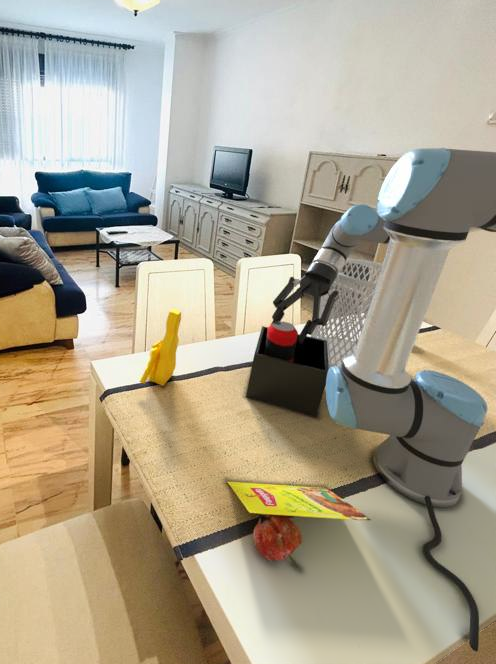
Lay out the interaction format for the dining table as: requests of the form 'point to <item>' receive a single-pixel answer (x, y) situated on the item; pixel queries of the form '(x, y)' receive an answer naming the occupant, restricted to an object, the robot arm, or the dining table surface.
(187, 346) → the dining table surface
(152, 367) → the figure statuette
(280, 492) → the food package
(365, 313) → the wastebasket
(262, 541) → the pomegranate
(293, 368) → the bin
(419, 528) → the dining table surface
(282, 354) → the soda can
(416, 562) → the dining table surface
